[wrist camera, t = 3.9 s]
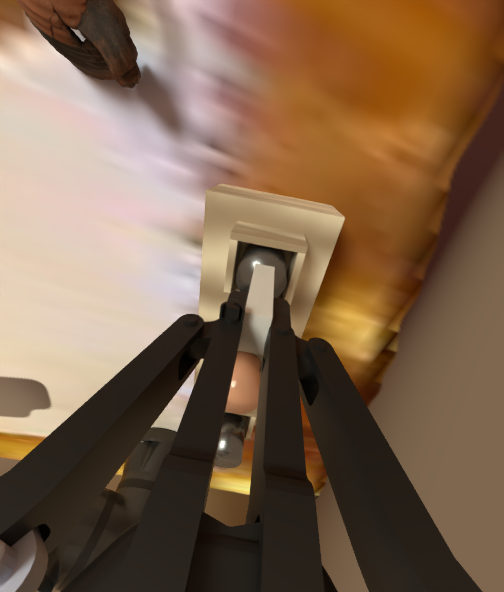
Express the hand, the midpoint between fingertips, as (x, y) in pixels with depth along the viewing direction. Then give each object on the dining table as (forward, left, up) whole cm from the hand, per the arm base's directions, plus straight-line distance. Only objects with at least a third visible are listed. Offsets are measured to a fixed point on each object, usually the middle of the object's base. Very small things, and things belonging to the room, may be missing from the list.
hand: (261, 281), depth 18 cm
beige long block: (-10, -6, -11) cm, 15 cm away
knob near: (0, 0, -5) cm, 5 cm away
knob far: (-19, -11, -2) cm, 22 cm away
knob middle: (-10, -6, -2) cm, 11 cm away
